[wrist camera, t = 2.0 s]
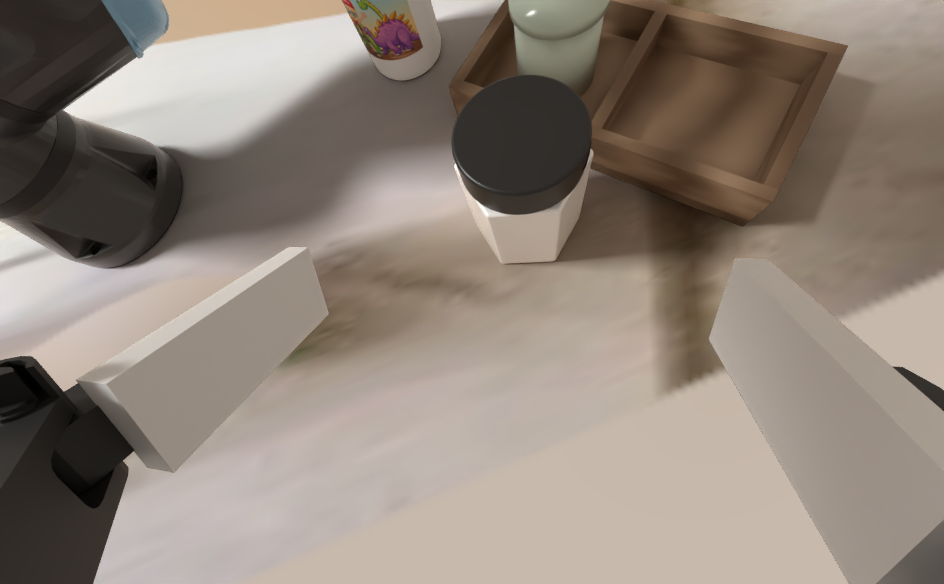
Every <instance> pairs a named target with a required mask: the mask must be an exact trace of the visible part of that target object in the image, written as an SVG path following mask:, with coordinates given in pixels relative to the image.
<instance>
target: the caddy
mask: <svg viewBox="0 0 944 584" xmlns="http://www.w3.org/2000/svg"><path fill="white" fill-rule="evenodd" d="M847 47H848V46H847V45H843V44H839V43H834V42H830V41H826V40H821V39H817V38H813V37H808V36H804V35H800V34H795V33H791V32H787V31H782V30H778V29H774V28H769V27H765V26H761V25H757V24H752V23H748V22H744V21H739V20H735V19H731V18H726V17H722V16H718V15H713V14H709V13H705V12H700V11H696V10H692V9H687V8H683V7H679V6H674V5H670V4H666V3H662V2H657V1H653V0H611V2H610V5H609V7H608V9H607V11H606V13H605V14H604V18H603V24H602V30H601V36H600V41H599V47H598V53H597V59H596V65H595V71H594V77H593V80H592V83H591V85H590V87H589V88H588V90H587V91H586V92H585V93H584V94H583V95H582V96H581V99H582V100H583V101H584V103H585V105H586V106H587V109H588V111H589V114H590V117H591V122H592V137H591V140H592V144H591V149H592V150H593V152H594V155H593V159H592V163H591V169H594V170H596V171H599V172H602V173H604V174H607V175H609V176H612V177H615V178H617V179H620V180H623V181H625V182H628V183H630V184H633V185H636V186H638V187H641V188H644V189H646V190H649V191H651V192H654V193H657V194H659V195H662V196H665V197H667V198H670V199H672V200H675V201H678V202H680V203H683V204H685V205H688V206H691V207H693V208H696V209H699V210H701V211H704V212H706V213H709V214H712V215H714V216H717V217H720V218H722V219H725V220H727V221H730V222H733V223H735V224H738V225H740V226H744V225H745V224H746V223H747V222H749V221H750V220H751V219H753V218H754V217H755V216H756V215H758V214H759V213H760V212H761V211H763V210H764V209H765V208H766V207H768V206H769V205H770V204H771V203H773V202H774V200H775V198H776V196H777V193H778V191H779V189H780V187H781V185H782V183H783V181H784V179H785V177H786V175H787V173H788V170H789V168H790V166H791V164H792V162H793V160H794V158H795V156H796V154H797V152H798V150H799V147H800V145H801V143H802V141H803V139H804V137H805V135H806V133H807V131H808V129H809V127H810V124H811V122H812V120H813V118H814V116H815V114H816V112H817V110H818V108H819V106H820V103H821V101H822V99H823V97H824V95H825V93H826V91H827V89H828V87H829V85H830V83H831V80H832V78H833V76H834V74H835V72H836V70H837V68H838V66H839V64H840V62H841V60H842V57H843V55H844V53H845V51H846V49H847ZM512 76H518V72H517V58H516V45H515V31H514V23H513V22H512V20H511V17H510V14H509V3H508V0H505V1H504V2H503V4H502V5H501V7H500V8H499V10H498V11H497V13H496V15H495V16H494V18H493V19H492V21H491V22H490V24H489V25H488V27H487V28H486V30H485V31H484V33H483V34H482V36H481V38H480V39H479V41H478V42H477V44H476V45H475V47H474V48H473V50H472V51H471V53H470V54H469V56H468V58H467V59H466V61H465V62H464V64H463V65H462V67H461V68H460V70H459V71H458V73H457V74H456V76H455V78H454V79H453V81H452V82H451V84H450V85H449V89H450V92H451V95H452V99H453V102H454V105H455V108H456V112H457V115H459V113H460V112H461V110H462V109H463V107H464V106H465V105H466V103H467V102H468V101H469V100H470V99H471V98H472V97H473V96H474V95H475V94H476V93H478V92H479V91H480V90H482V89H483V88H485V87H486V86H488V85H490V84H492V83H494V82H496V81H499V80H501V79H505V78H508V77H512Z"/></svg>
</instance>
